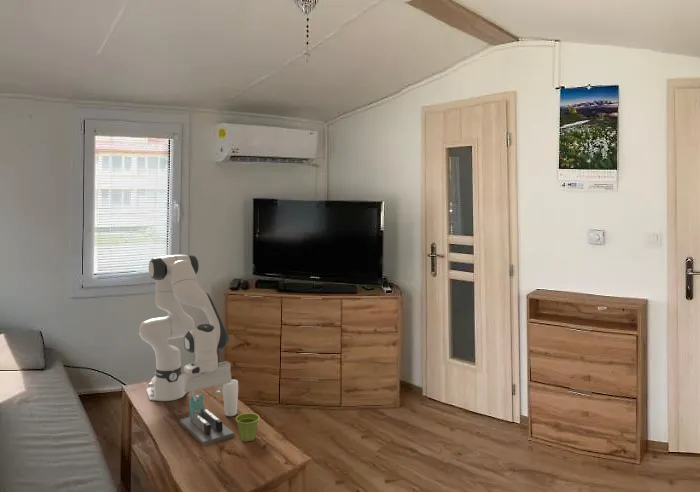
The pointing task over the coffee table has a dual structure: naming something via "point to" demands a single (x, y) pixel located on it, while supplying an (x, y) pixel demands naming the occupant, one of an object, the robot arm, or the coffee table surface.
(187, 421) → the plate
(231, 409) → the white cup
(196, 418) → the jaw
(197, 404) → the collar
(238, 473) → the coffee table surface
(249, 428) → the plant pot
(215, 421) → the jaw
